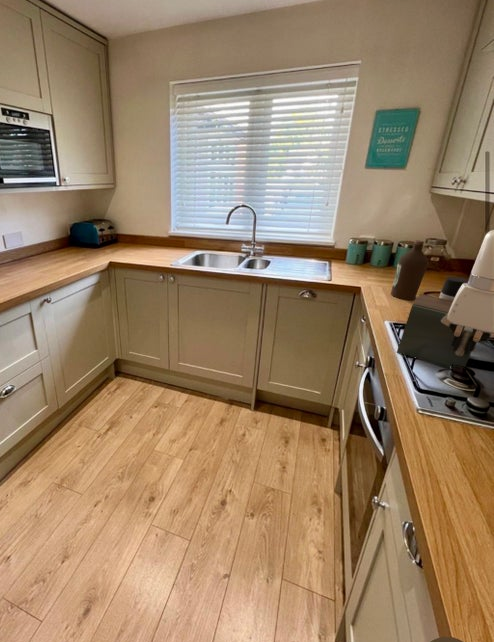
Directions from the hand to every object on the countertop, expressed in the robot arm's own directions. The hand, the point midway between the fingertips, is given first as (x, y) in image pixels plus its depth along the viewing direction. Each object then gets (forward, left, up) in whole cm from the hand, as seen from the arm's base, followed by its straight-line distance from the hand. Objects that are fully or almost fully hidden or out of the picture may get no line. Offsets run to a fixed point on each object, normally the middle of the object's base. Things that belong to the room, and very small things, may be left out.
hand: (460, 350), depth 85 cm
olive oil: (-18, -67, -9) cm, 70 cm away
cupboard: (-3, -14, -9) cm, 17 cm away
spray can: (-13, -29, -9) cm, 33 cm away
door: (+3, -6, -9) cm, 11 cm away
